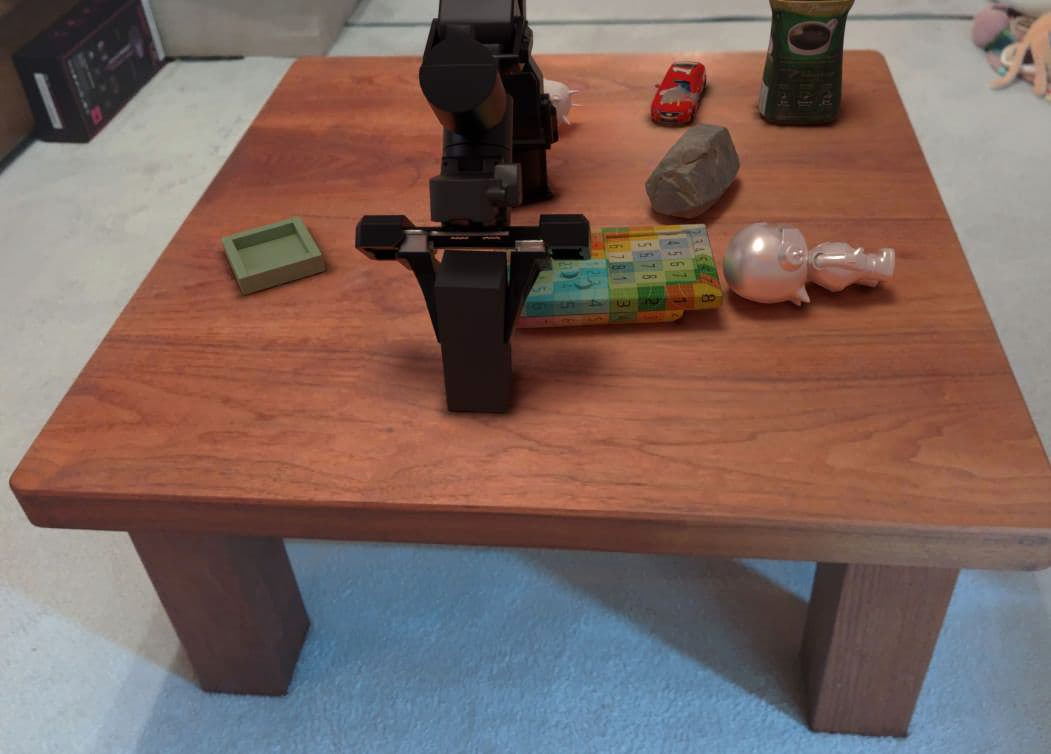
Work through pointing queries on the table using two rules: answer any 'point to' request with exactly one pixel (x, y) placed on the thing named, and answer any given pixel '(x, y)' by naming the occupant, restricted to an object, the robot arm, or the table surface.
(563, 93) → the robot toy
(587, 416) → the table surface
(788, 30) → the coffee jar
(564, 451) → the table surface
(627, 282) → the puzzle game
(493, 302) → the tall black rectangular block
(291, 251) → the green square tray
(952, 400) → the table surface
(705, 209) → the stone
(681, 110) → the race car
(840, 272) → the figurine
